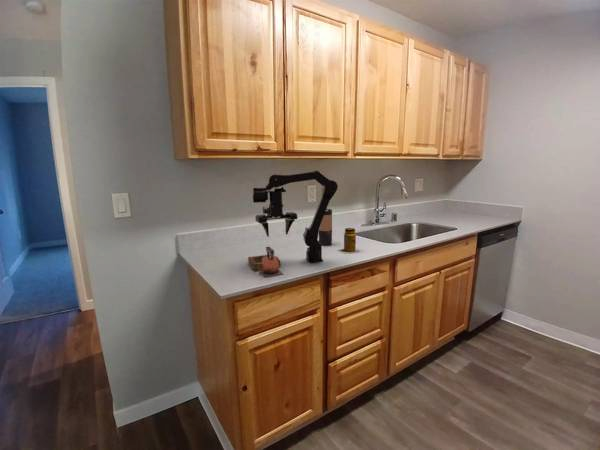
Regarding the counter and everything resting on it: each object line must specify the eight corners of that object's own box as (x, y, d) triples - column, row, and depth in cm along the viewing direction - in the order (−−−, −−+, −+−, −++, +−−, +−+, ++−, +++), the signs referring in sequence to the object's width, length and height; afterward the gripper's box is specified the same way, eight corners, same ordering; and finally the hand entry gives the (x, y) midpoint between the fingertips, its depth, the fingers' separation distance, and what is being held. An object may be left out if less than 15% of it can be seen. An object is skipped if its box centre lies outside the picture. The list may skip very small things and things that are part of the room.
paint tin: (276, 267, 137) (275, 245, 135) (281, 273, 131) (280, 249, 129) (260, 270, 135) (259, 247, 133) (265, 275, 128) (264, 252, 126)
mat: (277, 268, 138) (277, 267, 138) (283, 274, 131) (283, 273, 131) (258, 271, 135) (258, 270, 135) (263, 277, 128) (263, 276, 128)
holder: (272, 260, 151) (272, 254, 150) (280, 267, 140) (280, 261, 139) (248, 263, 146) (248, 257, 146) (254, 271, 135) (254, 264, 135)
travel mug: (331, 242, 182) (331, 208, 178) (332, 246, 175) (333, 210, 171) (318, 242, 182) (317, 209, 178) (319, 246, 174) (319, 211, 170)
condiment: (358, 251, 163) (359, 229, 161) (345, 253, 159) (345, 230, 157) (350, 248, 169) (351, 226, 167) (337, 250, 166) (337, 228, 164)
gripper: (288, 199, 153) (289, 230, 156) (251, 201, 146) (253, 234, 149) (297, 201, 143) (298, 234, 146) (258, 204, 136) (259, 239, 139)
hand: (277, 235), depth 145 cm, fingers open, 9 cm apart
